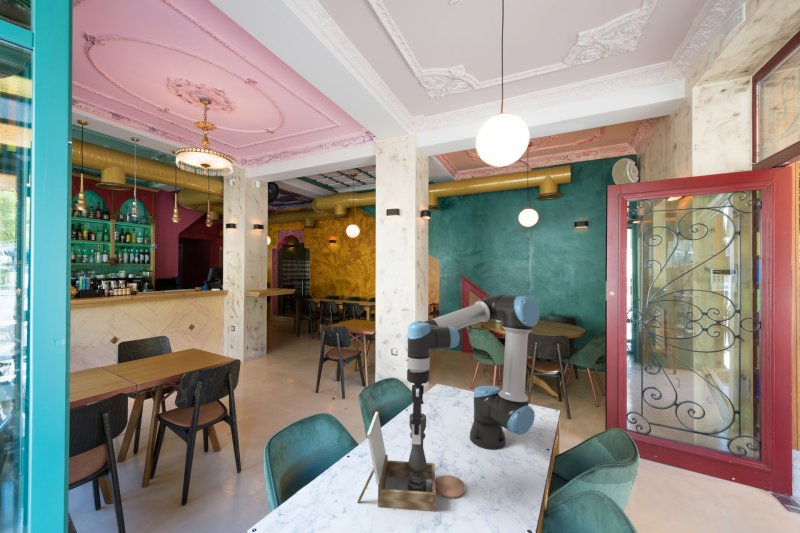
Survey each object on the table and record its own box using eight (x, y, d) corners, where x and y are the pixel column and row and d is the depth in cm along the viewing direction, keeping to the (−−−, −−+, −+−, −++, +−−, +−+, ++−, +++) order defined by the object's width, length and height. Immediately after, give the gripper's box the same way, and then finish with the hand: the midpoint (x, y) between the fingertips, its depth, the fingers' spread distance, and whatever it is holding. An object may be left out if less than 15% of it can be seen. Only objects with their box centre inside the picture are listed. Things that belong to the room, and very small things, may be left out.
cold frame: (434, 477, 110) (434, 443, 111) (435, 512, 94) (436, 471, 95) (366, 473, 112) (366, 439, 113) (356, 505, 97) (357, 466, 97)
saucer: (462, 479, 109) (462, 476, 110) (466, 499, 100) (466, 496, 100) (434, 477, 110) (434, 474, 110) (435, 497, 100) (435, 493, 100)
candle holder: (406, 486, 106) (407, 412, 106) (424, 485, 106) (425, 412, 107) (408, 499, 100) (409, 420, 100) (427, 498, 100) (428, 420, 101)
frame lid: (386, 454, 112) (386, 411, 113) (379, 485, 96) (379, 434, 96) (374, 453, 113) (375, 411, 113) (366, 484, 96) (366, 434, 97)
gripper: (409, 358, 117) (408, 415, 116) (404, 380, 92) (403, 453, 91) (429, 359, 116) (427, 416, 115) (429, 381, 91) (428, 454, 91)
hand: (416, 432), depth 103 cm, fingers open, 13 cm apart
